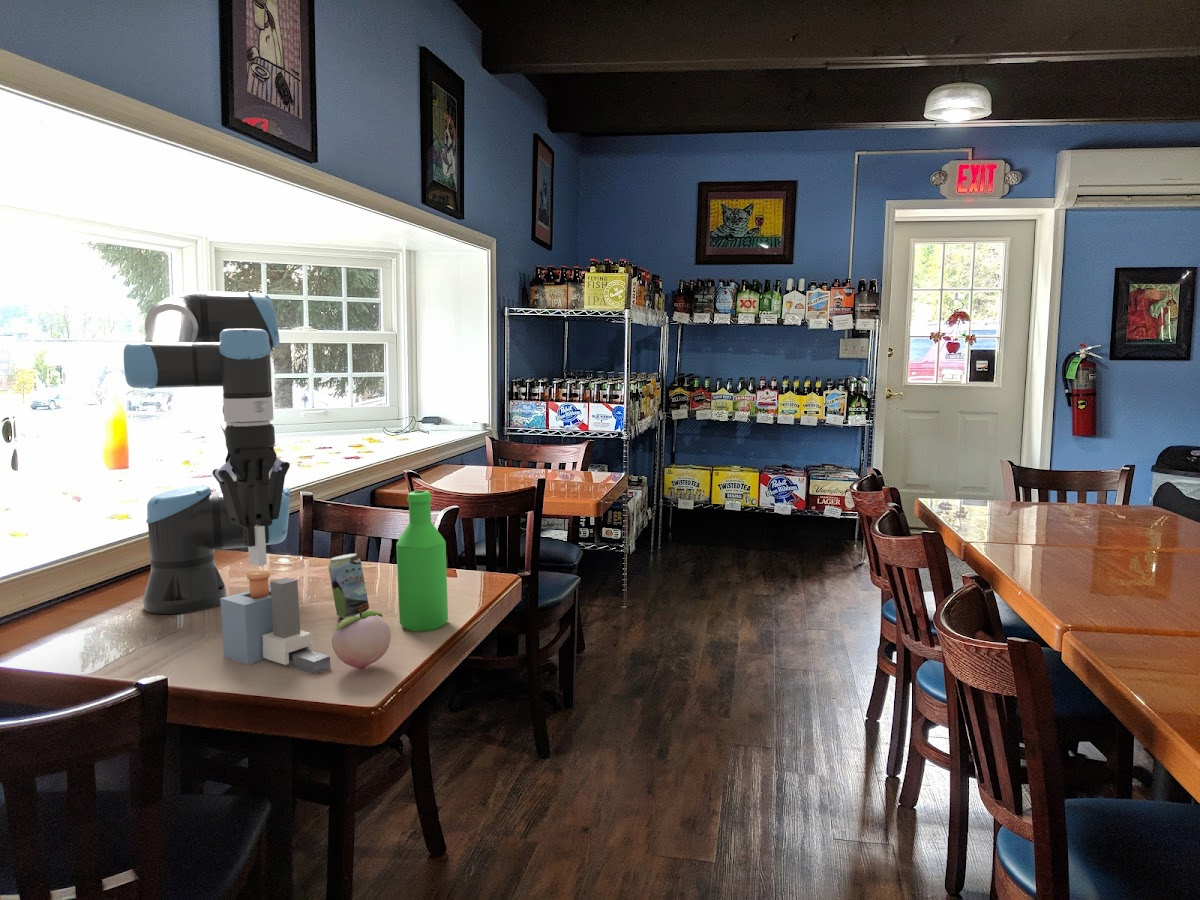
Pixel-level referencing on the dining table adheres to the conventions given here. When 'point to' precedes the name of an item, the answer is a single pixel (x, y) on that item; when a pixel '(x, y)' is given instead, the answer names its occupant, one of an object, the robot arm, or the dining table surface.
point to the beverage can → (348, 585)
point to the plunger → (258, 584)
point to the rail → (309, 661)
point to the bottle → (421, 569)
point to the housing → (245, 626)
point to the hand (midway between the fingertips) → (257, 563)
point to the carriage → (285, 623)
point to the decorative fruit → (361, 639)
